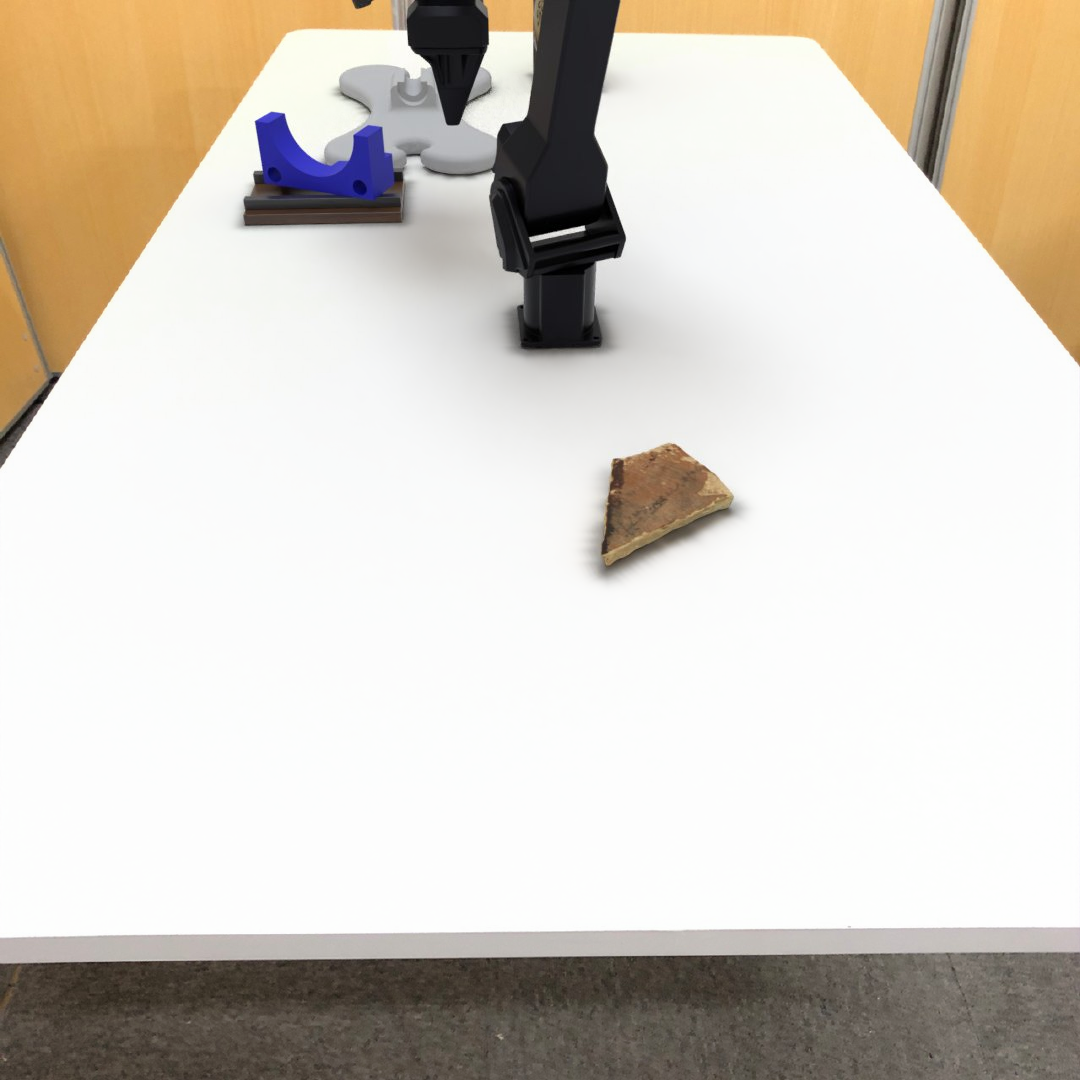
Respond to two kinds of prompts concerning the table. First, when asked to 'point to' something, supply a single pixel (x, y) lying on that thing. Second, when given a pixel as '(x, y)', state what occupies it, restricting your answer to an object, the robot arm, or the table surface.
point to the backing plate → (320, 205)
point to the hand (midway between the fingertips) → (452, 107)
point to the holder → (414, 120)
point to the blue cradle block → (297, 169)
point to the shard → (657, 498)
